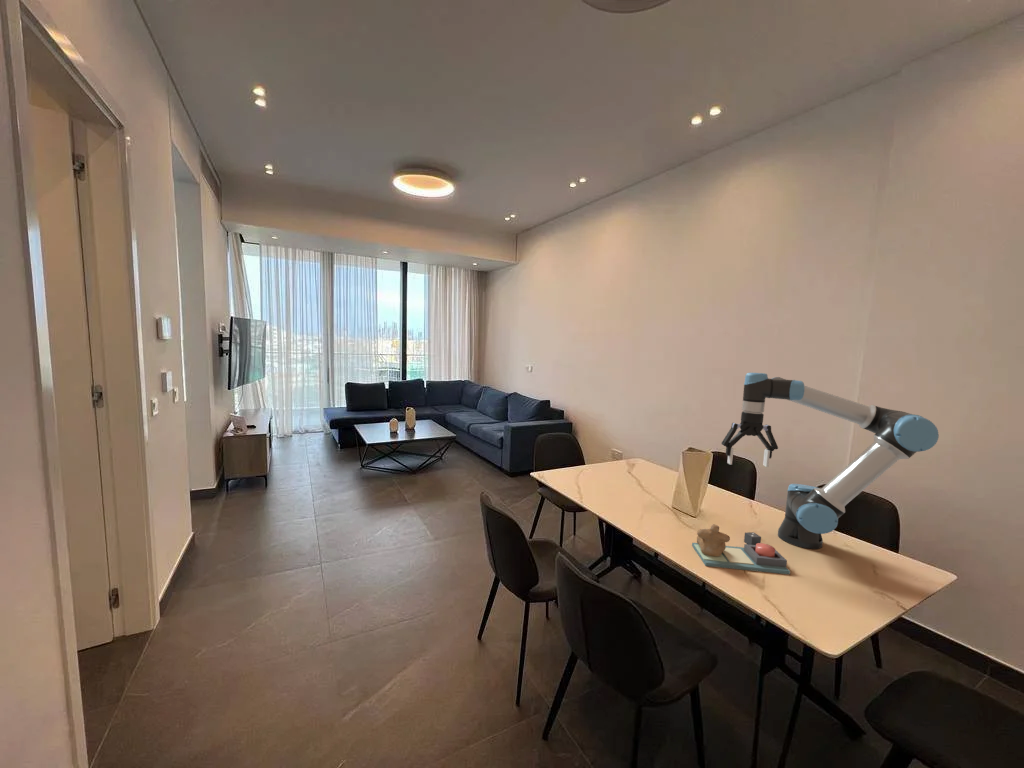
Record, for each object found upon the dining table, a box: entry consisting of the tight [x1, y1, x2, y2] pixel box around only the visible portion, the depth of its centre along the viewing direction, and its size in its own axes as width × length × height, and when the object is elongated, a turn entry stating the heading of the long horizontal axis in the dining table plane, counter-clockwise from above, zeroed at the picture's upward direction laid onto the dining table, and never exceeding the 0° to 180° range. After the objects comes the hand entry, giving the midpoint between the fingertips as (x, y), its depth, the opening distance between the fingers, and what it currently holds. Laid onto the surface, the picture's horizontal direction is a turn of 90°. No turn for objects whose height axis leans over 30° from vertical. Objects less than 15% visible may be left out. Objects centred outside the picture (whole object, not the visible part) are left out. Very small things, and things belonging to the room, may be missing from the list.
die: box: [743, 531, 762, 545], centre depth 163 cm, size 4×4×4 cm
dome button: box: [755, 542, 776, 557], centre depth 150 cm, size 6×6×4 cm
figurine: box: [696, 523, 731, 557], centre depth 151 cm, size 11×9×15 cm
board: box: [691, 542, 791, 575], centre depth 151 cm, size 28×15×4 cm, turn 83°
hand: (747, 464), depth 163 cm, fingers open, 13 cm apart
